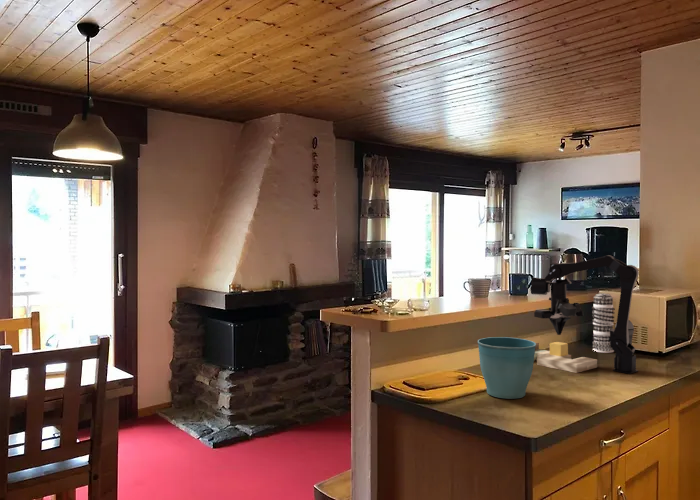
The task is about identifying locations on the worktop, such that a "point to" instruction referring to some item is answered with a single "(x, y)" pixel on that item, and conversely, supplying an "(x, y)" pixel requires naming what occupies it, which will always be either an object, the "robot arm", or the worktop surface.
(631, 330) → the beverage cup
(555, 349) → the ochre block
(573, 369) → the board
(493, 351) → the flower pot
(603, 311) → the decorative candle
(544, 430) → the worktop surface
